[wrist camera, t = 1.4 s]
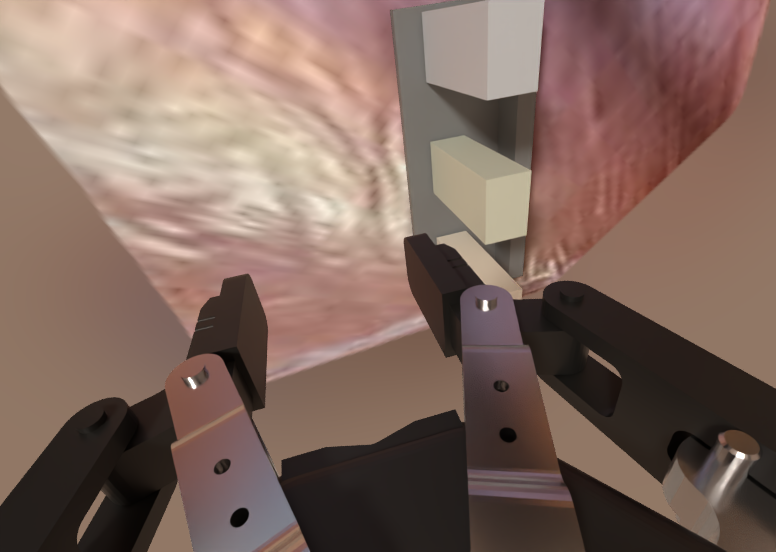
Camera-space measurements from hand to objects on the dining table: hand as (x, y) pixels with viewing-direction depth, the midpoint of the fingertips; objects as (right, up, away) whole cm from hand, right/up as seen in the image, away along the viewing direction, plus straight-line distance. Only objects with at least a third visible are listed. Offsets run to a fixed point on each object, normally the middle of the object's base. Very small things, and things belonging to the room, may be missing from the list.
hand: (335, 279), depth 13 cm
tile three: (+7, +23, +26) cm, 35 cm away
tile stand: (+10, +14, +33) cm, 38 cm away
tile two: (+9, +13, +32) cm, 36 cm away
